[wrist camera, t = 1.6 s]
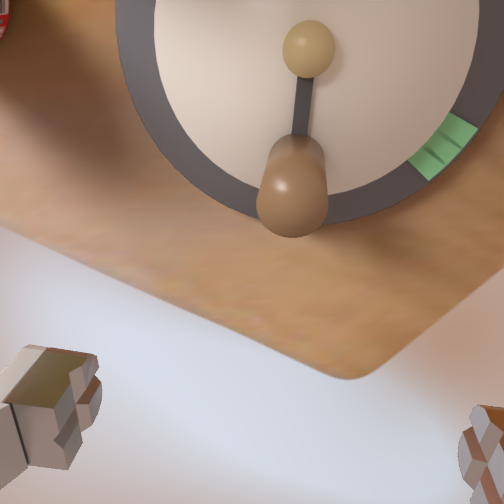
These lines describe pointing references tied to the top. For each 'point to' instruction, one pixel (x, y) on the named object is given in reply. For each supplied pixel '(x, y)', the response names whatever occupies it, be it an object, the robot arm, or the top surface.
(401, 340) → the top surface
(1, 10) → the soda can
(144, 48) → the dial base
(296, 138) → the dial
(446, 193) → the top surface
